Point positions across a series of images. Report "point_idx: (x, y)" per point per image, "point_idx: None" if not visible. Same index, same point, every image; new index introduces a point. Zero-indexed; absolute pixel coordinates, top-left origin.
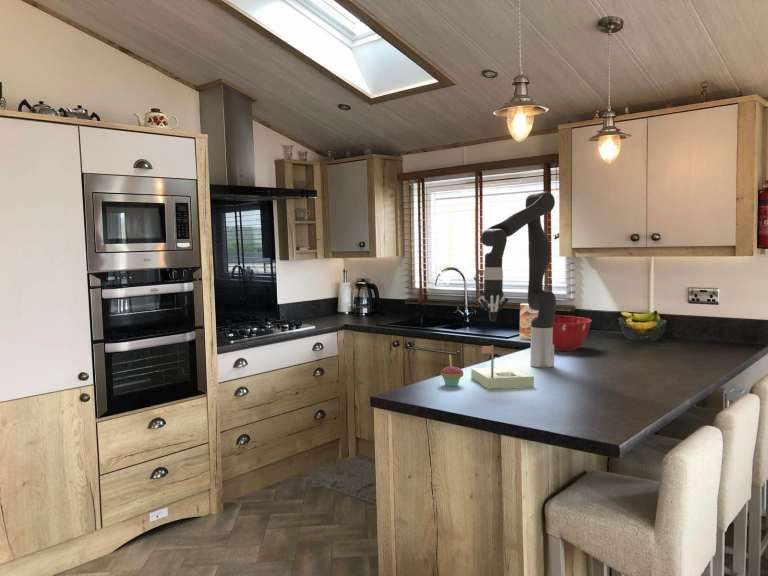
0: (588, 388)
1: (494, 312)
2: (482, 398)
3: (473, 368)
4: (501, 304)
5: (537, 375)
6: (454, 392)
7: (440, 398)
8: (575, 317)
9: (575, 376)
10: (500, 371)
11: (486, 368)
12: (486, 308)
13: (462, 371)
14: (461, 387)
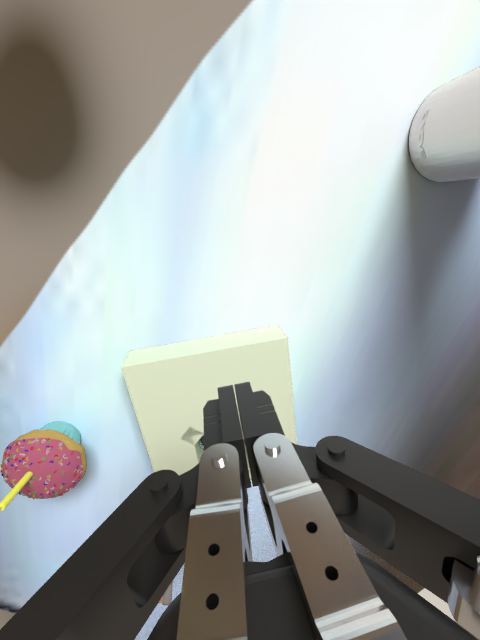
0: (412, 451)
1: (257, 481)
2: None
3: (129, 371)
4: (384, 557)
5: (358, 310)
6: (71, 505)
7: (37, 551)
8: None
9: (460, 325)
10: None
11: (178, 370)
12: (156, 555)
13: (79, 476)
14: (91, 459)
